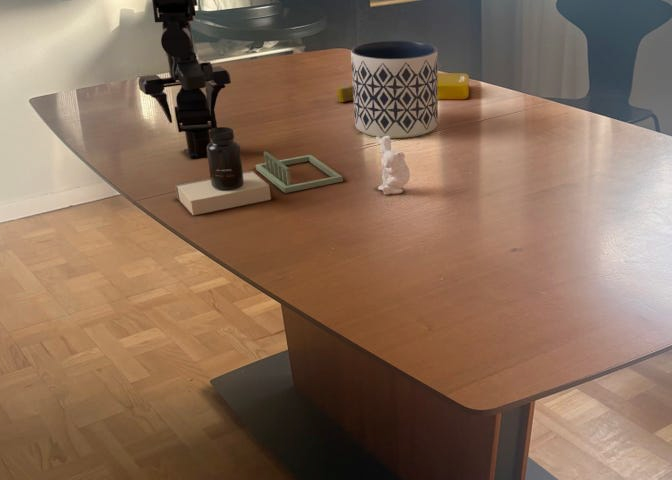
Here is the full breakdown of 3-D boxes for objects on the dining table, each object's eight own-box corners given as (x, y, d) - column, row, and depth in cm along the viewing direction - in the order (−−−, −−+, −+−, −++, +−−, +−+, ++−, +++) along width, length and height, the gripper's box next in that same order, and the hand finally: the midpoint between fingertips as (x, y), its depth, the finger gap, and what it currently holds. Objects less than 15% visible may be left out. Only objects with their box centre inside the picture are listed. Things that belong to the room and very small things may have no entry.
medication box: (368, 95, 253) (367, 81, 252) (374, 95, 252) (373, 82, 250) (337, 101, 246) (335, 87, 244) (343, 102, 244) (341, 88, 242)
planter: (340, 133, 220) (334, 54, 209) (377, 111, 238) (374, 37, 227) (417, 143, 213) (416, 62, 202) (450, 120, 230) (450, 44, 220)
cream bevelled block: (177, 199, 180) (174, 185, 178) (254, 184, 188) (252, 170, 186) (192, 215, 172) (189, 201, 170) (271, 199, 180) (270, 185, 178)
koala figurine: (368, 189, 185) (365, 136, 179) (393, 183, 188) (391, 130, 182) (390, 200, 179) (388, 146, 173) (415, 193, 183) (414, 140, 176)
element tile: (468, 99, 248) (468, 83, 246) (418, 99, 248) (418, 83, 246) (468, 87, 261) (468, 71, 259) (420, 87, 261) (420, 71, 259)
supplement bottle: (222, 193, 174) (213, 137, 168) (205, 185, 178) (197, 129, 172) (250, 185, 178) (243, 130, 172) (234, 177, 182) (226, 123, 176)
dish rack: (255, 169, 196) (253, 150, 194) (310, 159, 202) (309, 140, 200) (284, 193, 183) (282, 173, 181) (342, 181, 189) (341, 161, 187)
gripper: (145, 59, 168) (159, 135, 176) (234, 48, 177) (243, 121, 185) (131, 49, 176) (145, 122, 184) (217, 39, 185) (226, 109, 193)
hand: (191, 119), depth 186 cm, fingers open, 9 cm apart
